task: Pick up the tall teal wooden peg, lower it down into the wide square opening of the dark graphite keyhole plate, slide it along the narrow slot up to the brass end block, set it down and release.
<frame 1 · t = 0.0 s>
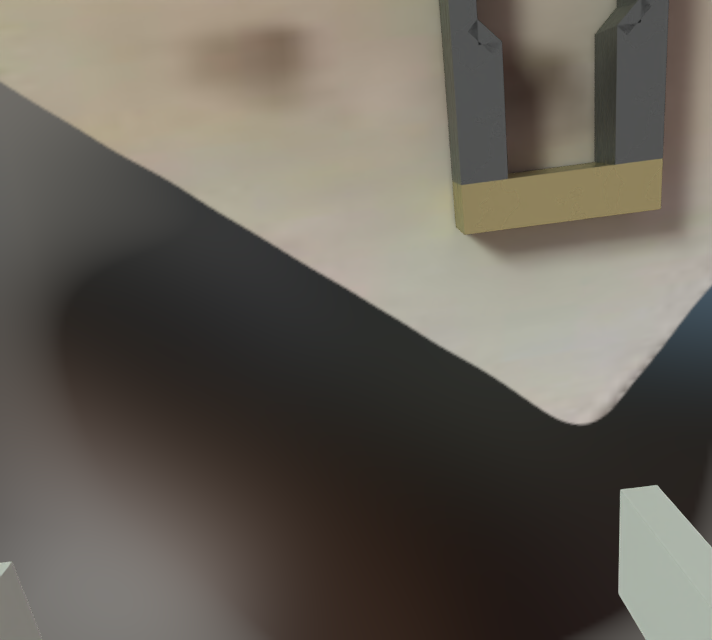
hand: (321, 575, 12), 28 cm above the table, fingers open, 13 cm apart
keyhole plate: (542, 50, 35), on the table
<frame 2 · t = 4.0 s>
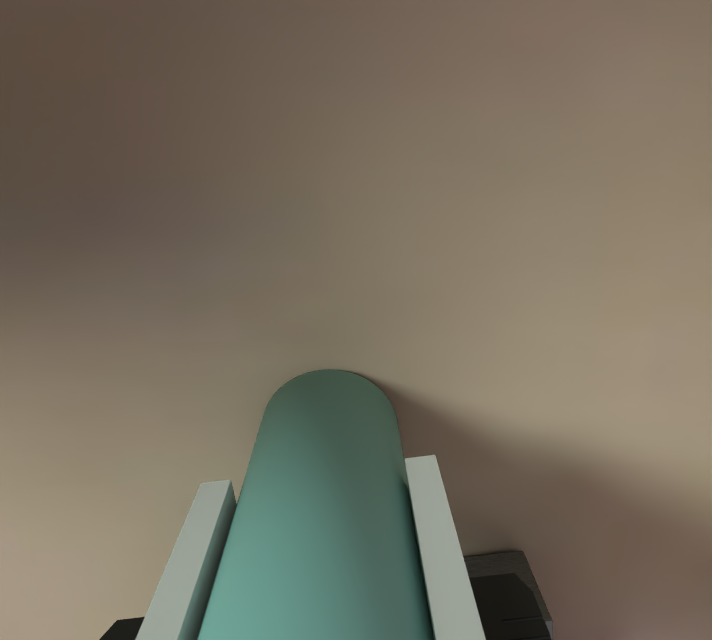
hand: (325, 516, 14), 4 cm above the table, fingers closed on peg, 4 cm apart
peg: (329, 432, 18), on the table, touching gripper
when the fingers open (5 cm above the table, at t = 10.7 s): peg stays where it is, resting in keyhole plate.
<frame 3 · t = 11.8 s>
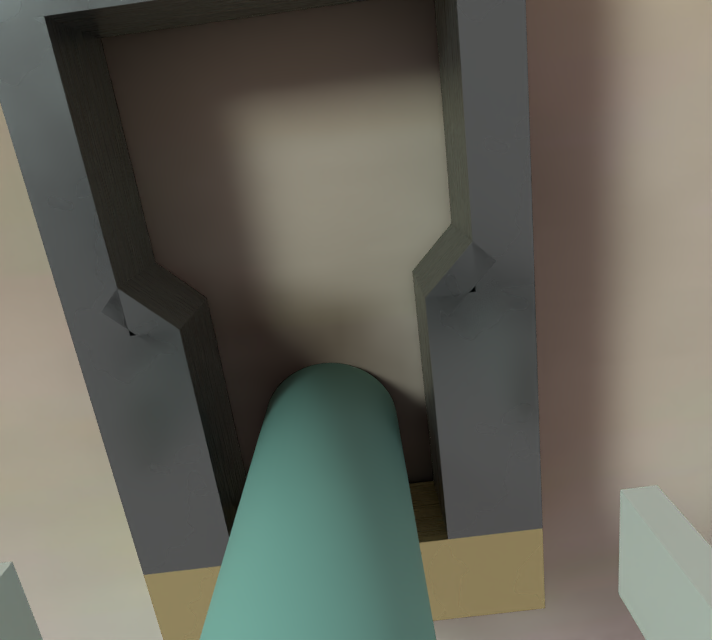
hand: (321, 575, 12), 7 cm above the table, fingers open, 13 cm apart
peg: (331, 423, 19), resting in keyhole plate
keyhole plate: (311, 300, 18), on the table
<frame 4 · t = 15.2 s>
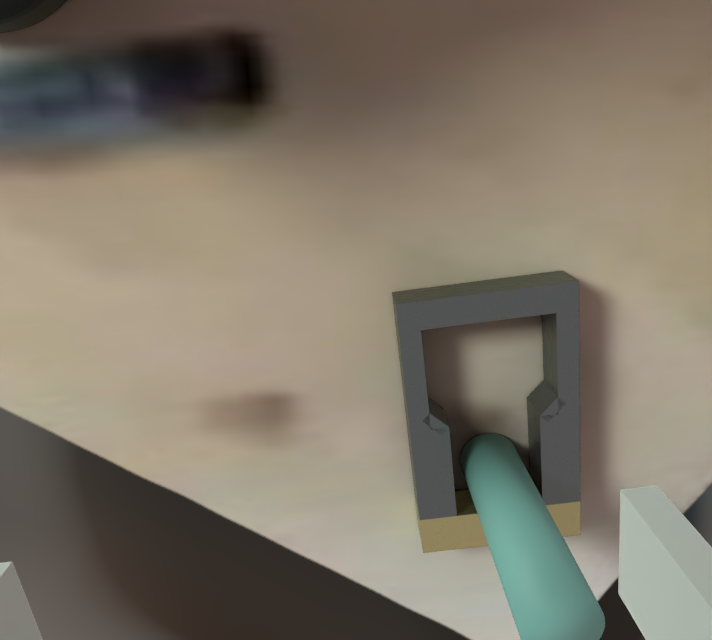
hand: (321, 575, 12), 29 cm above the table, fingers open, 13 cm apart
peg: (488, 458, 44), resting in keyhole plate
keyhole plate: (485, 408, 43), on the table
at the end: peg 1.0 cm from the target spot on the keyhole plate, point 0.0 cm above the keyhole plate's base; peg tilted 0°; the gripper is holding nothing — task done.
